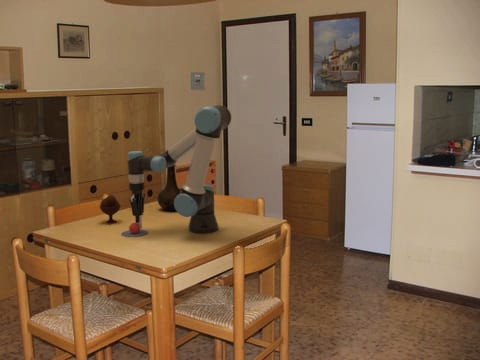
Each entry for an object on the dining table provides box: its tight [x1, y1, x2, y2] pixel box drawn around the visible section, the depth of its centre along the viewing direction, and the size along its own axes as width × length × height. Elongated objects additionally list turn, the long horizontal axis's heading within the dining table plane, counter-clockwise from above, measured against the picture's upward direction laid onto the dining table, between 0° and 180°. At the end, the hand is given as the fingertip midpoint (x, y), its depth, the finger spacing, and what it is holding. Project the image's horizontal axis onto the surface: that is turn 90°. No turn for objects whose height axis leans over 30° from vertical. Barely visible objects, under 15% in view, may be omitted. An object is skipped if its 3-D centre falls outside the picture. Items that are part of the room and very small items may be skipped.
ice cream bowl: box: [99, 194, 122, 224], centre depth 306 cm, size 11×11×15 cm
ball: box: [128, 222, 141, 234], centre depth 283 cm, size 6×6×6 cm
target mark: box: [120, 229, 149, 238], centre depth 283 cm, size 13×13×1 cm
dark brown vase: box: [157, 164, 181, 212], centre depth 333 cm, size 18×18×28 cm
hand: (138, 228), depth 287 cm, fingers closed
